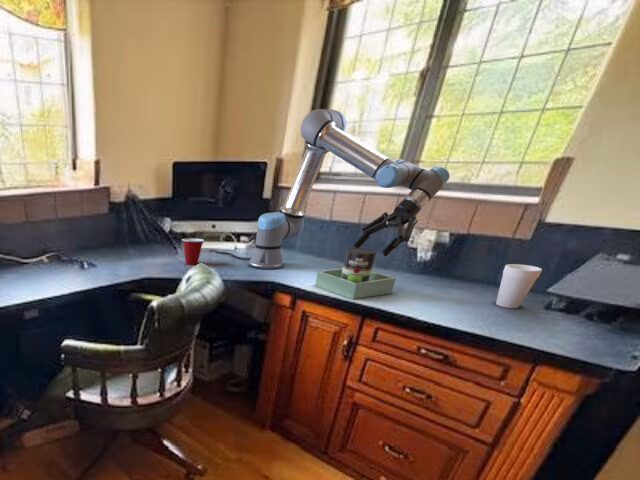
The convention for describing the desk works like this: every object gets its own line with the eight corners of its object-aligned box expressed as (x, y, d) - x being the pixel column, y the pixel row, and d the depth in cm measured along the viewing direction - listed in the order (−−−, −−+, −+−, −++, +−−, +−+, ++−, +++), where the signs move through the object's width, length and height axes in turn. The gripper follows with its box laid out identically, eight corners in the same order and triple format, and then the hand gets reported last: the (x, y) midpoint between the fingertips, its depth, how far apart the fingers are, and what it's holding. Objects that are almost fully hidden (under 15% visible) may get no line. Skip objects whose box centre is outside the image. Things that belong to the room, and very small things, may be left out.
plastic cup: (206, 262, 212) (207, 237, 206) (197, 267, 204) (198, 241, 198) (186, 260, 217) (187, 236, 211) (177, 264, 209) (178, 239, 203)
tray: (314, 285, 172) (317, 271, 169) (351, 280, 177) (354, 266, 174) (352, 299, 155) (356, 283, 152) (391, 293, 161) (396, 278, 158)
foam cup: (514, 311, 140) (531, 272, 134) (484, 303, 148) (499, 266, 142) (530, 306, 144) (548, 268, 137) (500, 299, 151) (516, 263, 145)
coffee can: (366, 292, 160) (376, 254, 153) (337, 289, 164) (345, 252, 157) (367, 285, 168) (376, 249, 161) (339, 282, 172) (347, 247, 165)
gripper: (445, 217, 149) (400, 263, 152) (386, 209, 170) (348, 250, 173) (439, 201, 145) (393, 250, 148) (379, 195, 166) (340, 238, 169)
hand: (369, 250), depth 160 cm, fingers open, 13 cm apart
